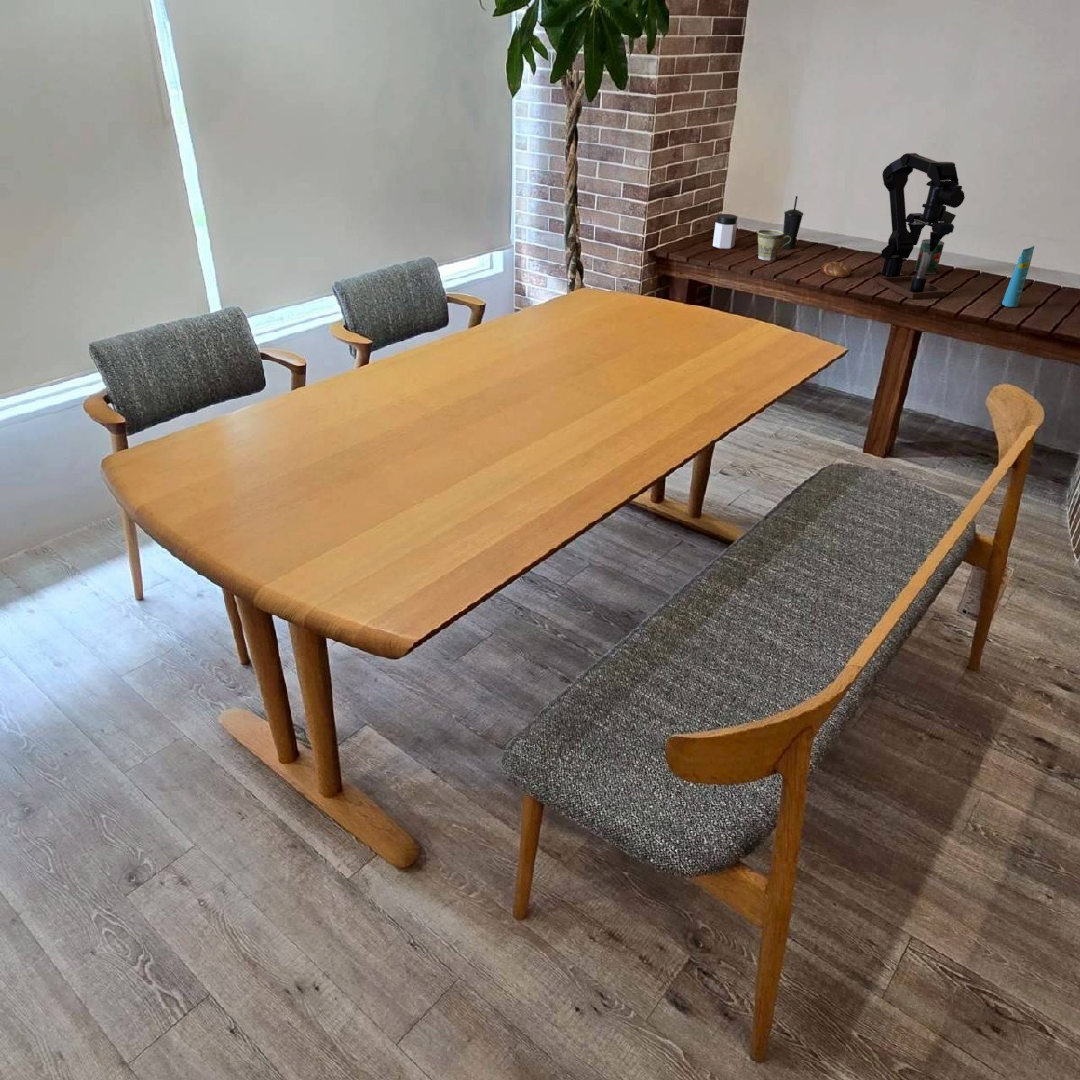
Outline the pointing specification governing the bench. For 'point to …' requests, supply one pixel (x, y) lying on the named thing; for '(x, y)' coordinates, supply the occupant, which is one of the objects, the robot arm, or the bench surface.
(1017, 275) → the tube
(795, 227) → the drinking cup
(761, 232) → the ceramic cup
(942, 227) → the robot arm
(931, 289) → the tray
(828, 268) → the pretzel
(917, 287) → the dark cylinder
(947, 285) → the bench surface
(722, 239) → the jar
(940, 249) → the canned tomato
